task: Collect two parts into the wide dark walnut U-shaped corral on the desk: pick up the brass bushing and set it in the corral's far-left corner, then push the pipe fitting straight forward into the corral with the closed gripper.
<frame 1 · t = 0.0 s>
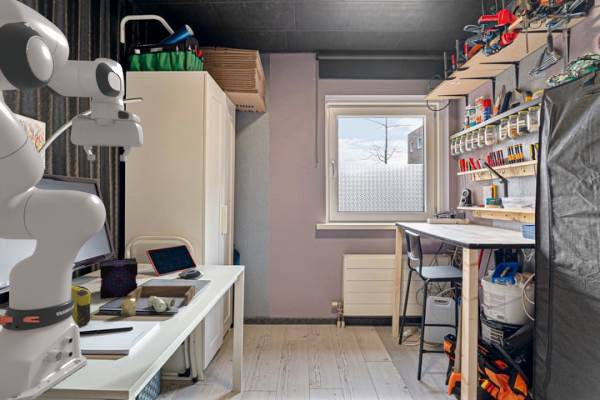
hand: (107, 160, 107), 48 cm above the table, tool pointing down, fingers open, 8 cm apart
brass bushing: (128, 314, 110), on the table
pipe fitting: (158, 310, 116), on the table
corral: (162, 299, 126), on the table
energy cube: (118, 293, 133), on the table
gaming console: (66, 317, 108), on the table
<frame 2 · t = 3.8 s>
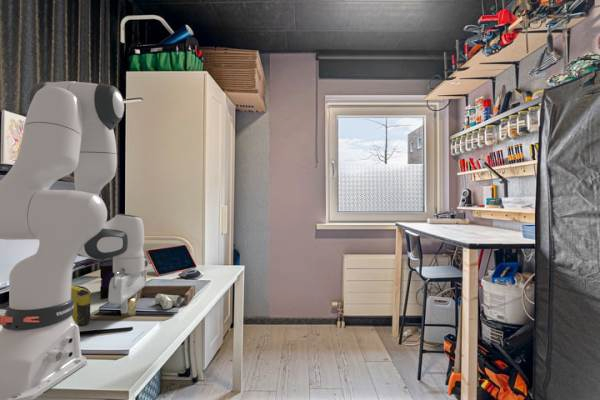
hand: (128, 309, 110), 2 cm above the table, tool pointing down, fingers closed on brass bushing, 4 cm apart
brass bushing: (128, 314, 110), on the table, touching gripper
pipe fitting: (165, 307, 119), on the table
everything else where it was.
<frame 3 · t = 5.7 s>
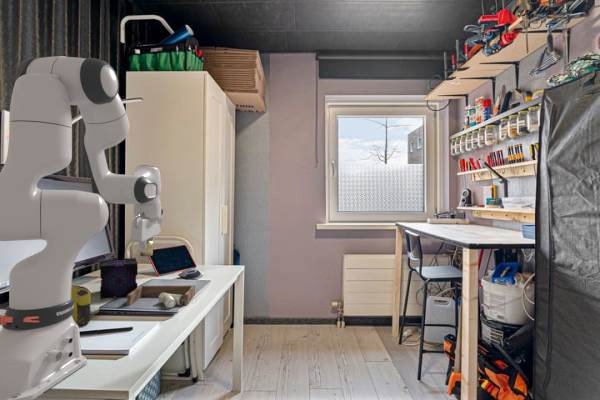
hand: (146, 250, 125), 18 cm above the table, tool pointing down, fingers closed on brass bushing, 4 cm apart
brass bushing: (146, 255, 125), point 16 cm above the table, touching gripper
pipe fitting: (168, 306, 120), on the table
everything else where it was.
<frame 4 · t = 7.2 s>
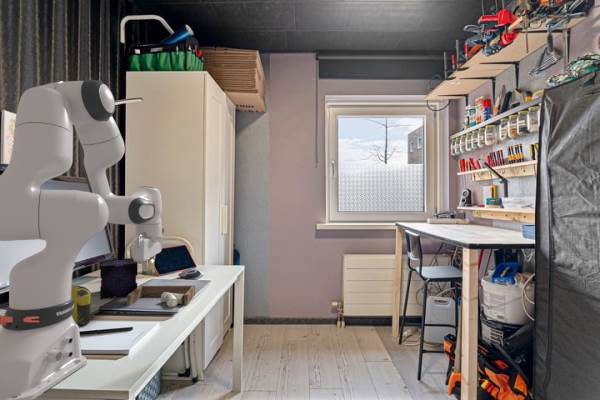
hand: (148, 269, 128), 10 cm above the table, tool pointing down, fingers closed on brass bushing, 4 cm apart
brass bushing: (148, 273, 128), point 9 cm above the table, touching gripper
pipe fitting: (170, 305, 121), on the table
everything else where it was.
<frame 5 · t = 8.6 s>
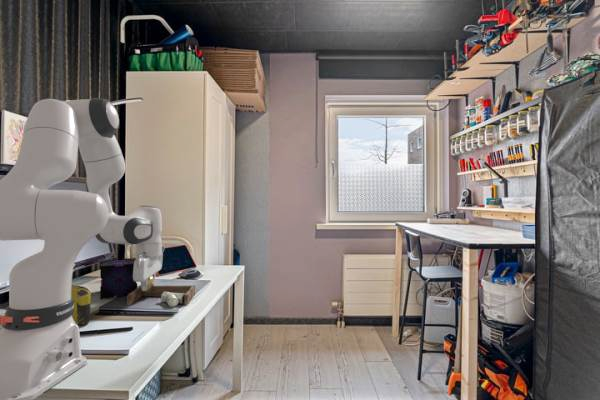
hand: (148, 287, 128), 3 cm above the table, tool pointing down, fingers closed on brass bushing, 5 cm apart
brass bushing: (148, 289, 129), point 3 cm above the table, tilted 22°, touching corral, gripper
when the fingers open (3 cm above the table, at t = 9.5 s): brass bushing drops 1 cm and tips over, point 2 cm above the table.
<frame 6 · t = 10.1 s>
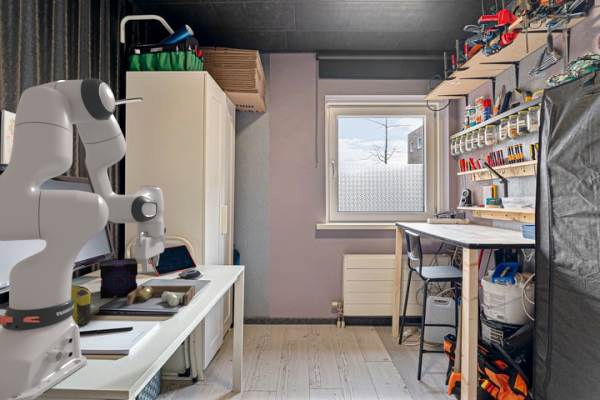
hand: (150, 268, 127), 11 cm above the table, tool pointing down, fingers open, 8 cm apart
brass bushing: (148, 291, 128), point 2 cm above the table, tilted 90°
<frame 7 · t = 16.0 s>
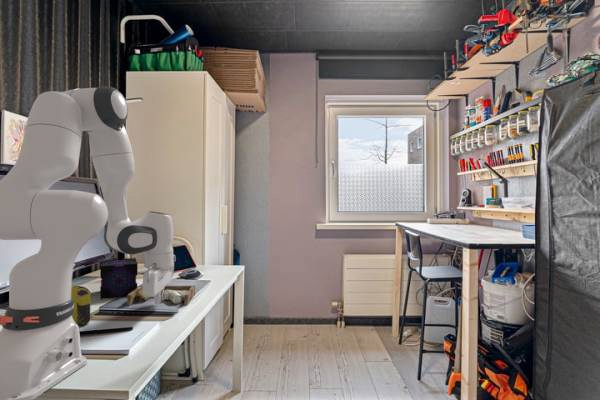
hand: (158, 302, 116), 2 cm above the table, tool pointing down, fingers closed
pipe fitting: (174, 302, 124), on the table
everything else where it was.
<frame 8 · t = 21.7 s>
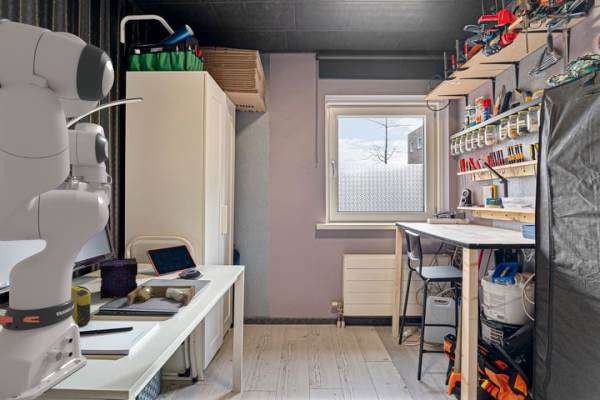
hand: (89, 221, 108), 29 cm above the table, tool pointing down, fingers closed
pipe fitting: (177, 300, 127), on the table
everything else where it was.
at the end: pipe fitting inside the target area on the corral (4.9 cm from its centre), point -0.5 cm above the corral's base; brass bushing inside the target area on the corral (7.6 cm from its centre), point 1.9 cm above the corral's base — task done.
